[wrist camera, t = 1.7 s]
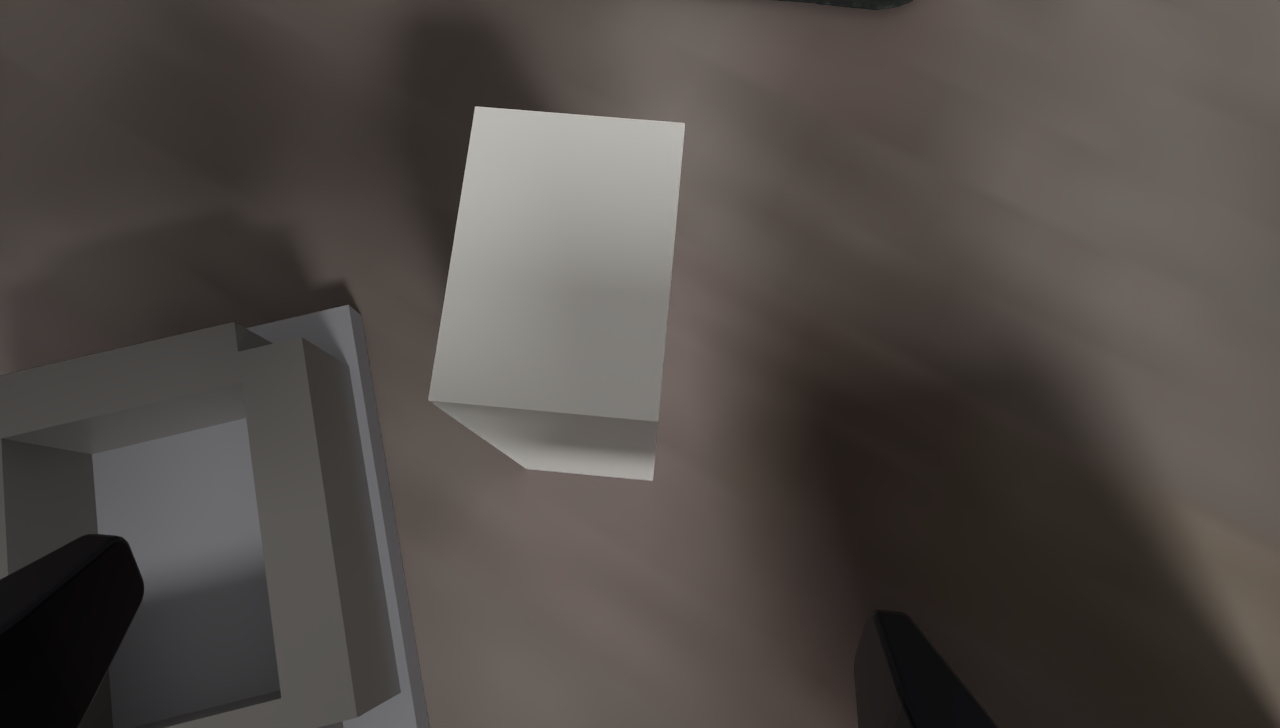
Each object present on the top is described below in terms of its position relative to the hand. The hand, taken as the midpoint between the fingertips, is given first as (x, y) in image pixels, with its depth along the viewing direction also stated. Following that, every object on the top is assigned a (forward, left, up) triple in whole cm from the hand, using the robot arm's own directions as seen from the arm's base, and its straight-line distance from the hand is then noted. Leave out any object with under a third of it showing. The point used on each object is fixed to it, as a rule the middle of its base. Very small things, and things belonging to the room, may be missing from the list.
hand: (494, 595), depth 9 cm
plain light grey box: (+5, +2, -12) cm, 13 cm away
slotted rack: (-4, +8, -12) cm, 15 cm away
